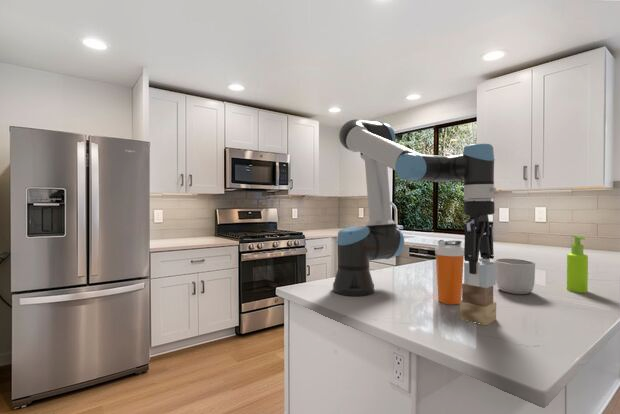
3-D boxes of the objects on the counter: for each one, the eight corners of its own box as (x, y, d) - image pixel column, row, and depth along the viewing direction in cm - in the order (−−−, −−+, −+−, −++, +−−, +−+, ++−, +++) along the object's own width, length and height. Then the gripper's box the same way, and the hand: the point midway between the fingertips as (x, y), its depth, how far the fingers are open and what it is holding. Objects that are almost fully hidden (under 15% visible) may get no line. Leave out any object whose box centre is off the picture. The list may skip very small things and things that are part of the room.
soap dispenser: (570, 292, 118) (571, 236, 118) (564, 287, 124) (564, 234, 124) (591, 294, 116) (592, 237, 115) (583, 289, 122) (584, 235, 122)
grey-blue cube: (464, 283, 93) (464, 262, 93) (473, 280, 97) (473, 259, 97) (486, 288, 88) (486, 265, 88) (495, 284, 92) (495, 262, 92)
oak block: (459, 319, 93) (459, 301, 93) (470, 313, 98) (470, 296, 98) (486, 326, 88) (486, 307, 88) (496, 319, 93) (496, 301, 93)
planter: (512, 285, 128) (512, 257, 128) (543, 294, 116) (543, 263, 116) (487, 288, 124) (487, 259, 124) (517, 297, 113) (517, 265, 112)
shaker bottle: (467, 306, 104) (467, 242, 103) (437, 305, 105) (437, 242, 105) (460, 298, 112) (460, 239, 112) (432, 297, 114) (432, 238, 114)
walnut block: (462, 301, 93) (462, 283, 93) (470, 297, 97) (471, 280, 97) (484, 306, 89) (484, 288, 88) (493, 301, 93) (493, 284, 92)
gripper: (478, 200, 83) (479, 292, 83) (506, 200, 96) (507, 280, 96) (449, 200, 89) (450, 286, 89) (479, 200, 101) (480, 276, 101)
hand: (479, 283), depth 92 cm, fingers closed on grey-blue cube, 6 cm apart
